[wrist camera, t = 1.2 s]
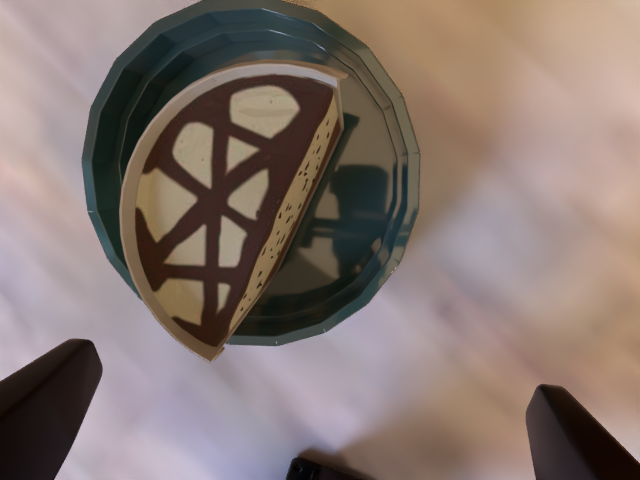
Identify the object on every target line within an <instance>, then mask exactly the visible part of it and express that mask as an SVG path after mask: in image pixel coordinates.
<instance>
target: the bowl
mask: <svg viewBox="0 0 640 480" xmlns="http://www.w3.org/2000/svg"><path fill="white" fill-rule="evenodd" d="M264 59H275V60H297V61H303V62H309V63H314V64H319V65H324V66H327V67H330V68H333V69H336V70H338V71H341V72H344V73H347V74H348V76H347V78H346V79H341V80H340V82H339V84H340V93H341V102H342V111H343V121H344V130H343V132H342V135H341V137H340V139H339V141H338V143H337V145H336V147H335V150H334V152H333V154H332V156H331V158H330V160H329V163H328V165H327V167H326V169H325V171H324V173H323V176H322V178H321V180H320V182H319V184H318V186H317V189H316V191H315V193H314V195H313V197H312V199H311V202H310V204H309V206H308V208H307V210H306V212H305V214H304V217H303V219H302V221H301V223H300V225H299V227H298V230H297V232H296V234H295V236H294V238H293V240H292V243H291V245H290V247H289V249H288V251H287V253H286V256H285V258H284V260H283V262H282V264H281V266H280V268H279V271H278V273H277V274H276V276H275V277H274V278H273V280H272V281H271V282H270V284H269V285H268V286H267V288H266V289H265V290H264V292H263V293H262V294H261V296H260V297H259V299H258V300H257V301H256V303H255V304H254V305H253V307H252V308H251V309H250V311H249V312H248V313H247V315H246V316H245V317H244V319H243V320H242V321H241V323H240V324H239V326H238V327H237V328H236V330H235V331H234V332H233V334H232V335H231V336H230V338H229V339H228V340H227V342H226V343H225V344H229V345H255V346H280V345H283V344H287V343H291V342H294V341H298V340H301V339H305V338H308V337H312V336H315V335H319V334H323V333H325V332H327V331H329V330H330V329H332V328H333V327H335V326H336V325H338V324H339V323H341V322H342V321H344V320H345V319H347V318H348V317H350V316H351V315H353V314H354V313H356V312H357V311H359V310H360V309H362V308H363V307H365V306H366V305H367V304H368V303H369V302H370V301H371V300H372V298H373V297H374V296H375V294H376V293H377V292H378V291H379V289H380V288H381V287H382V285H383V284H384V283H385V282H386V280H387V279H388V278H389V276H390V275H391V274H392V273H393V271H394V270H395V269H396V267H397V266H398V265H399V264H400V262H401V259H402V257H403V254H404V251H405V248H406V245H407V243H408V240H409V237H410V234H411V231H412V228H413V226H414V223H415V220H416V217H417V214H418V210H419V187H420V153H419V152H420V150H419V147H418V143H417V140H416V137H415V134H414V130H413V127H412V124H411V120H410V117H409V114H408V111H407V107H406V104H405V101H404V97H403V96H402V93H401V92H400V91H399V89H398V88H397V86H396V85H395V84H394V82H393V81H392V79H391V78H390V77H389V75H388V74H387V72H386V71H385V69H384V68H383V67H382V65H381V64H380V62H379V61H378V60H377V58H376V57H375V55H374V54H373V53H372V51H371V50H370V48H369V47H367V45H366V44H364V43H363V42H361V41H360V40H359V39H357V38H356V37H354V36H353V35H352V34H350V33H349V32H347V31H346V30H345V29H343V28H342V27H340V26H339V25H338V24H336V23H335V22H334V21H332V20H331V19H329V18H328V17H327V16H325V15H324V14H322V13H321V12H318V11H316V10H313V9H309V8H306V7H302V6H299V5H295V4H292V3H288V2H285V1H282V0H202V1H200V2H198V3H196V4H193V5H191V6H189V7H187V8H184V9H182V10H180V11H178V12H175V13H173V14H171V15H169V16H167V17H164V18H162V19H160V20H158V21H156V22H155V23H153V24H152V25H151V26H150V27H149V28H148V29H147V30H146V31H145V32H144V33H143V34H142V35H141V36H140V37H139V38H137V39H136V40H135V41H134V42H133V43H132V44H131V45H130V46H129V47H128V48H127V49H126V50H125V51H124V52H123V53H122V54H121V55H120V56H119V57H118V58H117V59H116V60H115V61H114V63H113V65H112V67H111V69H110V71H109V73H108V75H107V77H106V79H105V81H104V82H103V84H102V86H101V88H100V90H99V92H98V94H97V96H96V98H95V100H94V102H93V104H92V106H91V109H90V113H89V119H88V125H87V131H86V136H85V142H84V148H83V154H82V169H83V178H84V186H85V194H86V202H87V211H88V214H89V217H90V219H91V221H92V224H93V226H94V229H95V231H96V233H97V236H98V238H99V240H100V243H101V245H102V247H103V250H104V252H105V254H106V257H107V259H108V260H109V262H110V263H111V264H112V266H113V267H114V268H115V269H116V271H117V272H118V273H119V274H120V276H121V277H122V278H123V279H124V281H125V282H126V283H127V284H128V286H129V287H130V288H131V289H132V290H133V292H134V293H135V294H136V295H137V297H138V298H139V299H140V300H141V301H142V302H143V300H142V298H141V296H140V294H139V292H138V290H137V288H136V286H135V284H134V282H133V280H132V277H131V274H130V272H129V269H128V266H127V263H126V260H125V256H124V251H123V246H122V241H121V236H120V217H119V209H120V199H121V190H122V184H123V181H124V177H125V173H126V169H127V166H128V163H129V160H130V158H131V156H132V154H133V151H134V149H135V147H136V145H137V142H138V141H139V139H140V138H141V136H142V134H143V133H144V131H145V130H146V128H147V127H148V125H149V124H150V122H151V121H152V120H153V119H154V117H155V116H156V115H157V114H158V113H159V112H160V111H161V109H162V108H163V107H164V106H165V105H166V104H167V103H168V102H169V101H170V100H171V99H172V98H173V97H174V96H176V95H177V94H178V93H179V92H181V91H182V90H183V89H185V88H186V87H187V86H189V85H190V84H191V83H193V82H195V81H197V80H199V79H200V78H202V77H204V76H206V75H208V74H210V73H212V72H214V71H216V70H219V69H222V68H226V67H229V66H232V65H235V64H238V63H243V62H250V61H257V60H264Z"/></svg>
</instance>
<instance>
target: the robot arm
mask: <svg viewBox="0 0 640 480" xmlns="http://www.w3.org/2000/svg"><path fill="white" fill-rule="evenodd" d="M102 371H103V368H102V363H101V361H100V358H99V356H98V353H97V351H96V348H95V346H94V344H93V342H92V341H90V340H85V339H69V340H67V341H65V342H64V343H62V344H60V345H59V346H57V347H56V348H54V349H52V350H51V351H49V352H47V353H46V354H44V355H43V356H41V357H39V358H38V359H36V360H34V361H33V362H31V363H30V364H28V365H26V366H25V367H23V368H21V369H20V370H18V371H17V372H15V373H13V374H12V375H10V376H8V377H7V378H5V379H4V380H2V381H0V480H54V479H55V477H56V475H57V473H58V472H59V470H60V468H61V466H62V464H63V462H64V461H65V459H66V457H67V455H68V453H69V451H70V449H71V447H72V445H73V443H74V440H75V438H76V436H77V434H78V431H79V429H80V427H81V424H82V422H83V419H84V417H85V415H86V412H87V410H88V408H89V405H90V403H91V400H92V398H93V396H94V393H95V391H96V389H97V386H98V384H99V382H100V379H101V376H102ZM526 425H527V431H528V437H529V443H530V449H531V454H532V460H533V466H534V472H535V477H536V480H640V463H639V462H638V461H637V460H636V459H635V458H634V457H633V456H632V455H631V454H630V453H629V452H628V451H627V450H626V449H625V448H624V447H623V446H622V445H621V444H620V443H619V442H618V441H617V440H616V439H615V438H614V437H613V436H612V435H611V434H610V433H609V432H608V431H607V430H606V429H605V428H604V427H603V426H602V425H601V424H600V423H599V422H598V421H597V420H596V419H595V418H594V417H593V416H592V415H591V414H590V413H589V412H588V411H587V410H586V409H585V408H584V407H583V406H582V405H581V404H580V403H579V402H578V401H577V400H576V399H575V398H574V397H573V396H572V395H571V394H570V393H569V392H568V391H567V390H566V389H565V388H563V387H561V386H558V385H547V384H540V385H539V386H537V388H536V390H535V392H534V394H533V396H532V399H531V401H530V403H529V405H528V407H527V410H526ZM295 465H299V466H300V468H297V467H296V466H295ZM285 480H361V479H358V478H355V477H353V476H350V475H347V474H344V473H341V472H339V471H336V470H333V469H330V468H327V467H324V466H322V465H319V464H316V463H313V462H310V461H308V460H305V459H302V458H294V459H293V460H292V462H291V464H290V467H289V470H288V473H287V476H286V479H285Z"/></svg>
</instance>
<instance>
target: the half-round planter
mask: <svg viewBox="0 0 640 480" xmlns="http://www.w3.org/2000/svg"><path fill="white" fill-rule="evenodd" d="M347 76H348V74H347V73H344V72H341V71H338V70H336V69H333V68H330V67H327V66H324V65H319V64H314V63H309V62H303V61H297V60H275V59H264V60H257V61H250V62H243V63H238V64H235V65H232V66H229V67H226V68H222V69H219V70H216V71H214V72H212V73H210V74H208V75H206V76H204V77H202V78H200V79H199V80H197V81H195V82H193V83H191V84H190V85H189V86H187V87H186V88H185V89H183V90H182V91H181V92H179V93H178V94H177V95H176V96H174V97H173V98H172V99H171V100H170V101H169V102H168V103H167V104H166V105H165V106H164V107H163V108H162V109H161V111H160V112H159V113H158V114H157V115H156V116H155V117H154V119H153V120H152V121H151V122H150V124H149V125H148V127H147V128H146V130H145V131H144V133H143V134H142V136H141V138H140V139H139V141H138V142H137V145H136V147H135V149H134V151H133V154H132V156H131V158H130V160H129V163H128V166H127V169H126V173H125V177H124V181H123V184H122V190H121V199H120V209H119V217H120V236H121V241H122V246H123V251H124V256H125V260H126V263H127V266H128V269H129V272H130V274H131V277H132V280H133V282H134V284H135V286H136V288H137V290H138V292H139V294H140V296H141V298H142V300H143V302H144V303H145V304H146V306H147V307H148V309H149V310H150V311H151V313H152V314H153V316H154V317H155V318H156V320H157V321H158V322H159V323H160V324H161V325H162V326H163V327H164V329H165V330H166V331H167V332H168V333H169V334H170V335H171V336H172V337H173V338H174V339H175V340H177V341H178V342H179V343H180V344H182V345H183V346H184V347H185V348H187V349H188V350H189V351H190V352H192V353H193V354H195V355H197V356H198V357H200V358H202V359H204V360H205V361H207V362H209V363H211V361H212V360H213V361H214V360H215V359H216V358H217V357H218V356H219V355H220V354H221V353H222V352H223V350H224V347H223V346H224V344H225V343H226V342H227V340H228V339H229V338H230V336H231V335H232V334H233V332H234V331H235V330H236V328H237V327H238V326H239V324H240V323H241V321H242V320H243V319H244V317H245V316H246V315H247V313H248V312H249V311H250V309H251V308H252V307H253V305H254V304H255V303H256V301H257V300H258V299H259V297H260V296H261V294H262V293H263V292H264V290H265V289H266V288H267V286H268V285H269V284H270V282H271V281H272V280H273V278H274V277H275V276H276V274H277V273H278V271H279V268H280V266H281V264H282V262H283V260H284V258H285V256H286V253H287V251H288V249H289V247H290V245H291V243H292V240H293V238H294V236H295V234H296V232H297V230H298V227H299V225H300V223H301V221H302V219H303V217H304V214H305V212H306V210H307V208H308V206H309V204H310V202H311V199H312V197H313V195H314V193H315V191H316V189H317V186H318V184H319V182H320V180H321V178H322V176H323V173H324V171H325V169H326V167H327V165H328V163H329V160H330V158H331V156H332V154H333V152H334V150H335V147H336V145H337V143H338V141H339V139H340V137H341V135H342V132H343V130H344V121H343V111H342V102H341V93H340V84H339V82H340V80H341V79H346V78H347Z"/></svg>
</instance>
